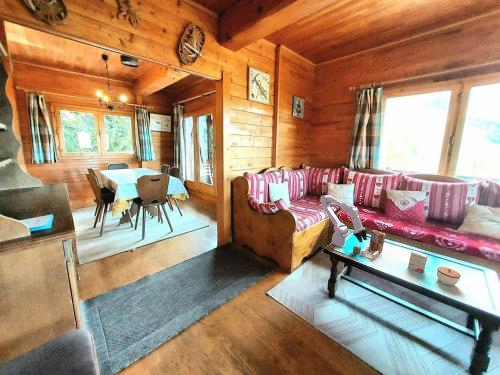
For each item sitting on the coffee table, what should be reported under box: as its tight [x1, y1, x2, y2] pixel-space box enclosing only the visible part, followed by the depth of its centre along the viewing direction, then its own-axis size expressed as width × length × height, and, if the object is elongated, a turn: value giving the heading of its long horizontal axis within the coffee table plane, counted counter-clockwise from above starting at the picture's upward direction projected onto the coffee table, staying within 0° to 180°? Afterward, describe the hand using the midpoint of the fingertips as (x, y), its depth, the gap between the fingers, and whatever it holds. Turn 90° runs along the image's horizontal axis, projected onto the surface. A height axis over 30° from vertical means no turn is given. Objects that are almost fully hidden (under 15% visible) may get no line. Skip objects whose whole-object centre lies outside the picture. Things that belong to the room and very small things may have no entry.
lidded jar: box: [436, 266, 462, 287], centre depth 136 cm, size 11×11×9 cm
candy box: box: [368, 229, 386, 253], centre depth 172 cm, size 9×4×15 cm, turn 39°
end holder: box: [361, 246, 379, 261], centre depth 164 cm, size 8×9×4 cm
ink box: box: [407, 250, 429, 274], centre depth 148 cm, size 9×5×12 cm, turn 42°
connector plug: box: [351, 244, 362, 257], centre depth 165 cm, size 4×9×6 cm, turn 131°
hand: (363, 241), depth 162 cm, fingers open, 7 cm apart
